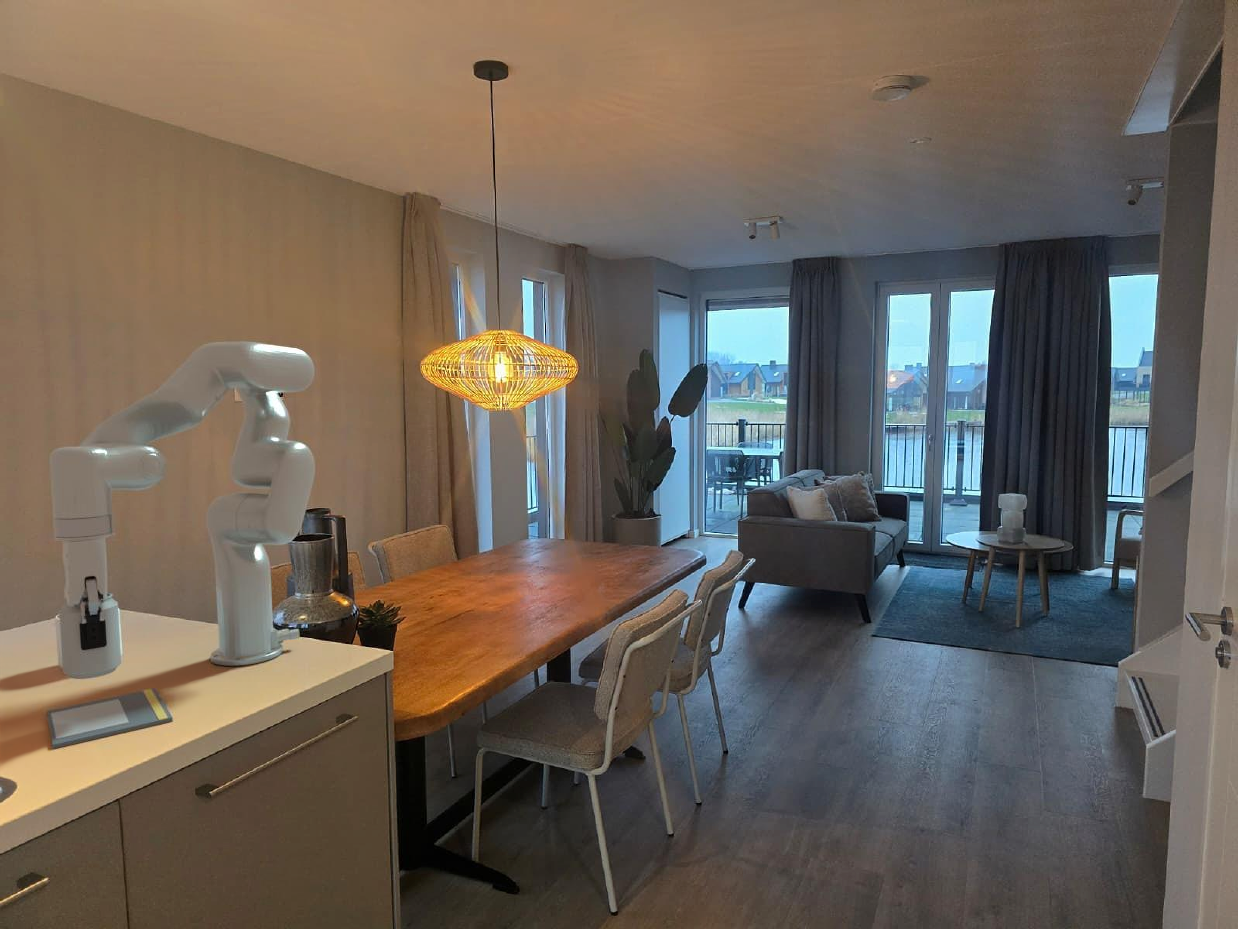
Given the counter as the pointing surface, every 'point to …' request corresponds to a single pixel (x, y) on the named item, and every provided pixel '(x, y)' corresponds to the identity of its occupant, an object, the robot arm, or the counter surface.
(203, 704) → the counter surface
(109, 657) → the can
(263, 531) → the robot arm
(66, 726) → the mat
